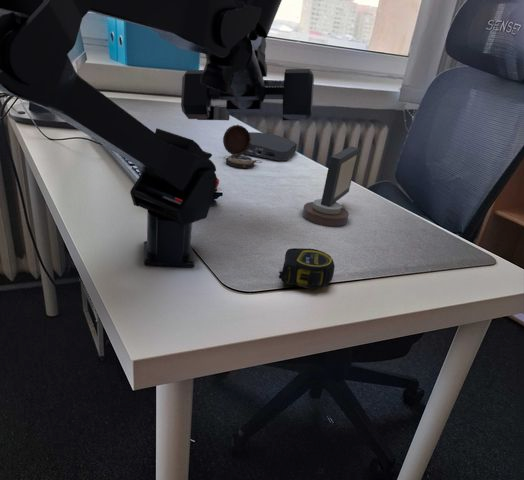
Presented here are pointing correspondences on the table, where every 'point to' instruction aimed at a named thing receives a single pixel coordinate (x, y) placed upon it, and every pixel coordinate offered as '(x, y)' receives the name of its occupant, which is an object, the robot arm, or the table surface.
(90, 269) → the table surface
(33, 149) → the table surface
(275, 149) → the media streaming box
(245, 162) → the compass
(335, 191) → the frame
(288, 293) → the table surface
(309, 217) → the swivel stand
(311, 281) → the tape measure
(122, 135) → the robot arm
